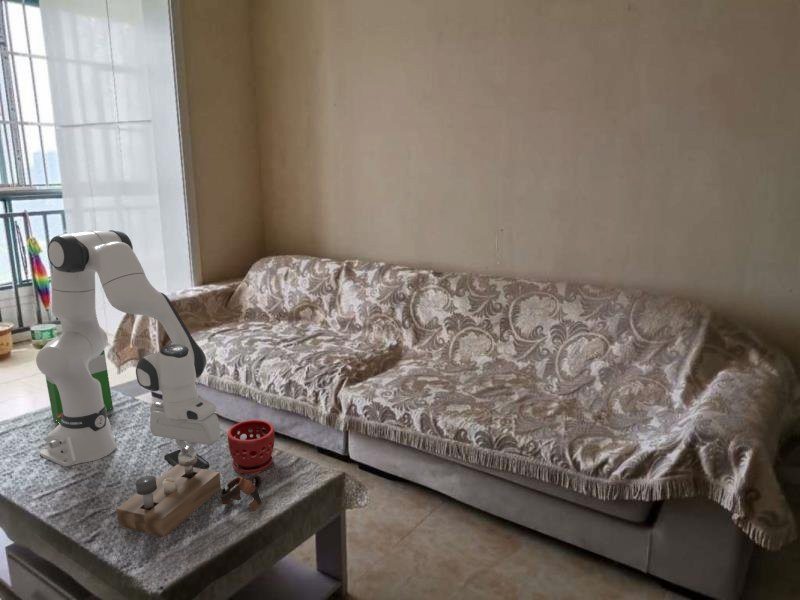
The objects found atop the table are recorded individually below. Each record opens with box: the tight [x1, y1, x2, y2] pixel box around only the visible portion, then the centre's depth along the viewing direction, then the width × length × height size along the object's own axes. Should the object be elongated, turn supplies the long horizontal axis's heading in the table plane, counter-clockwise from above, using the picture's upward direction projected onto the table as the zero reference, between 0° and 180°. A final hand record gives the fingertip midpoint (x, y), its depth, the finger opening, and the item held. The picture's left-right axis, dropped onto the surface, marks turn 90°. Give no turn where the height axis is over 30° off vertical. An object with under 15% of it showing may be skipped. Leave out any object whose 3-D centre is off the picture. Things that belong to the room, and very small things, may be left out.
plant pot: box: [227, 419, 275, 475], centre depth 168 cm, size 13×13×12 cm
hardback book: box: [44, 349, 114, 424], centre depth 205 cm, size 18×7×24 cm, turn 137°
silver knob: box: [178, 449, 197, 479], centre depth 156 cm, size 5×5×7 cm
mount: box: [115, 464, 222, 538], centre depth 150 cm, size 14×22×5 cm, turn 161°
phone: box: [163, 449, 210, 469], centre depth 173 cm, size 8×1×15 cm
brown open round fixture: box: [218, 473, 262, 512], centre depth 152 cm, size 12×10×8 cm
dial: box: [163, 478, 177, 493], centre depth 149 cm, size 3×3×3 cm
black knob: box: [134, 475, 157, 508], centre depth 142 cm, size 5×5×7 cm
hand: (187, 453), depth 155 cm, fingers closed, pressing on silver knob
